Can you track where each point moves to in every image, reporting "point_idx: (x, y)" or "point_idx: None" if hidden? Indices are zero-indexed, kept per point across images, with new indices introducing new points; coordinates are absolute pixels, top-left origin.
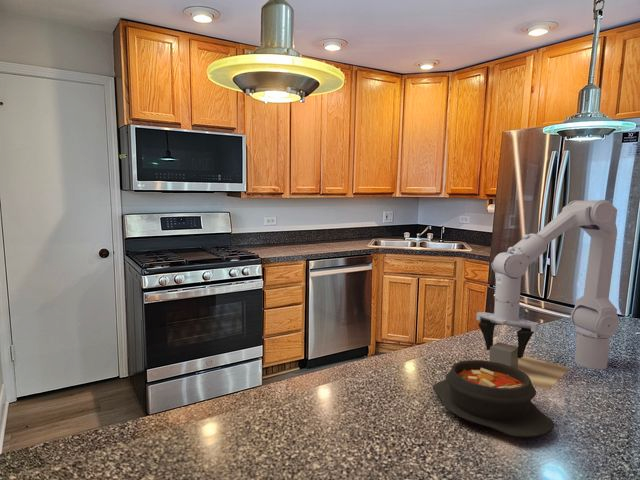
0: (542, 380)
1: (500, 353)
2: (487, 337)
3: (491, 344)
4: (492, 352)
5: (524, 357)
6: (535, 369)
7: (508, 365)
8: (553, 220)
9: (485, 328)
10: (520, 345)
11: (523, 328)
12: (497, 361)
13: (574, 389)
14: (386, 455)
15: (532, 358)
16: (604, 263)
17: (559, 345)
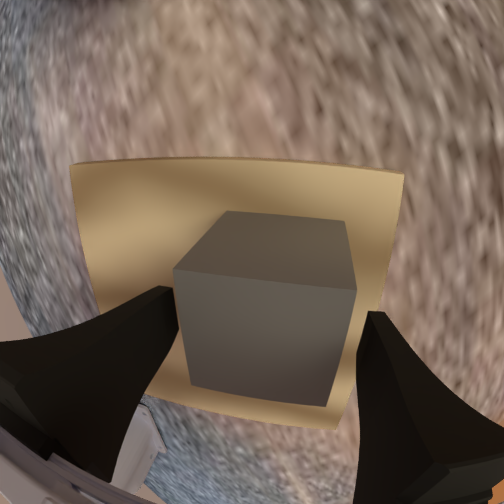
0: (111, 237)
1: (264, 261)
2: (399, 371)
3: (362, 365)
4: (331, 266)
5: (255, 413)
6: (177, 333)
7: (222, 227)
8: None
9: (443, 438)
10: (99, 323)
11: (26, 439)
12: (293, 236)
13: (59, 254)
14: None
15: (231, 414)
16: None
17: (229, 486)
